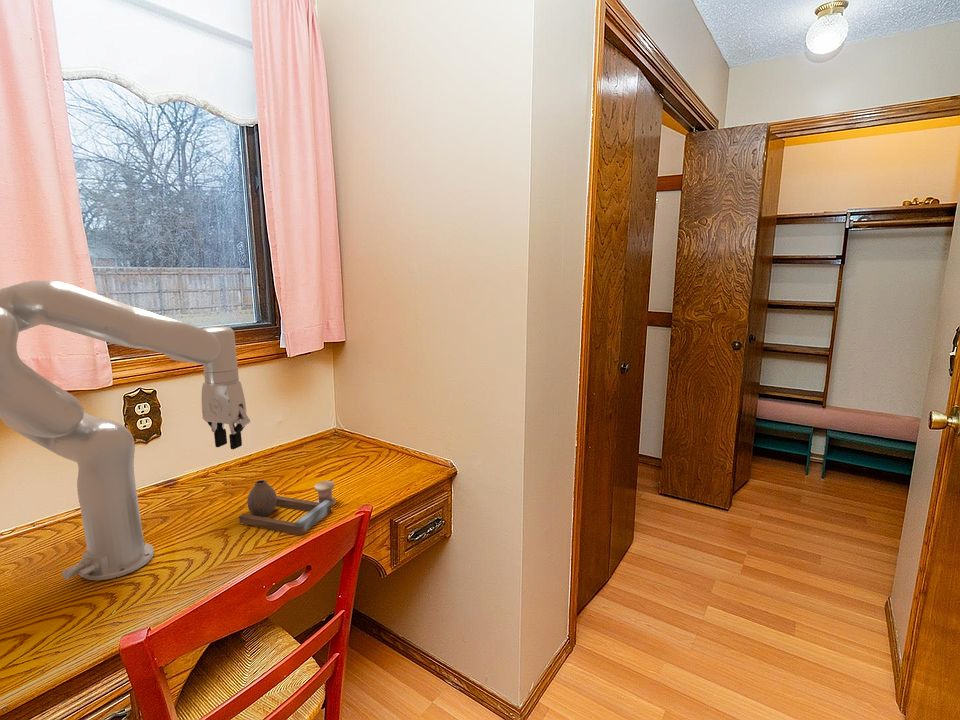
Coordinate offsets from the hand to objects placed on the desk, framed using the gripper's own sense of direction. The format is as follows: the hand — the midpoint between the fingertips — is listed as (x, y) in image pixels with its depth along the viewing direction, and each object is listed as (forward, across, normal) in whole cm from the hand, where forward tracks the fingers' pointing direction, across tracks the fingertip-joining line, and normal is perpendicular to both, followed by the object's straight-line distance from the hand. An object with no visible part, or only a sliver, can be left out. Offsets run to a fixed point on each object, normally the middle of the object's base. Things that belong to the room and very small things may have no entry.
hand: (228, 445), depth 125 cm
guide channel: (+17, +16, 0) cm, 24 cm away
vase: (+18, +9, 0) cm, 20 cm away
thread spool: (+17, +21, +10) cm, 29 cm away
